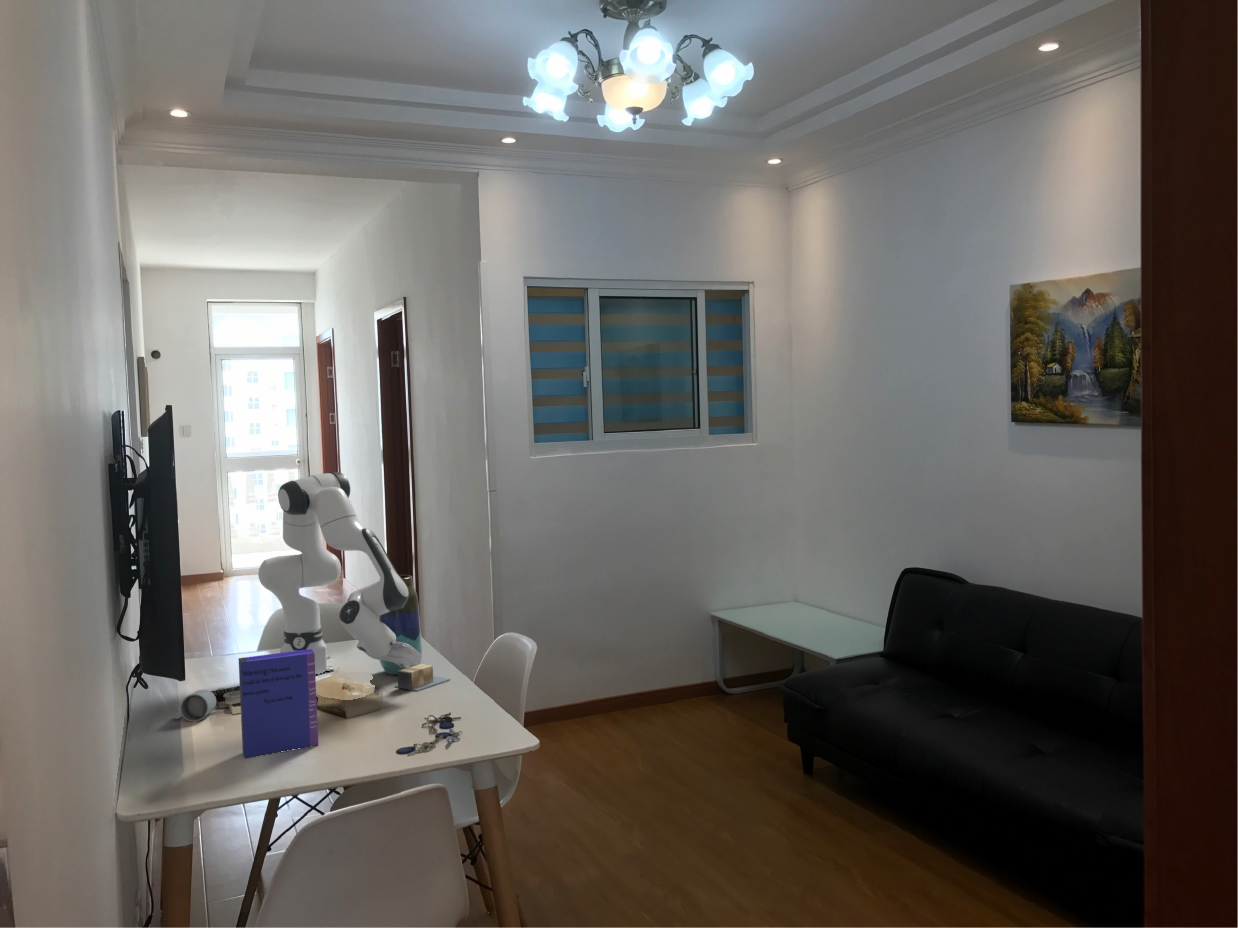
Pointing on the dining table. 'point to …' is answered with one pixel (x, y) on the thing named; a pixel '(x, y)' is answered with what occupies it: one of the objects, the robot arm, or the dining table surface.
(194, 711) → the ceramic mug
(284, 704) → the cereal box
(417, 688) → the rubber mat
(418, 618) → the vase
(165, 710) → the dining table surface
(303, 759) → the dining table surface
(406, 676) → the oak block
